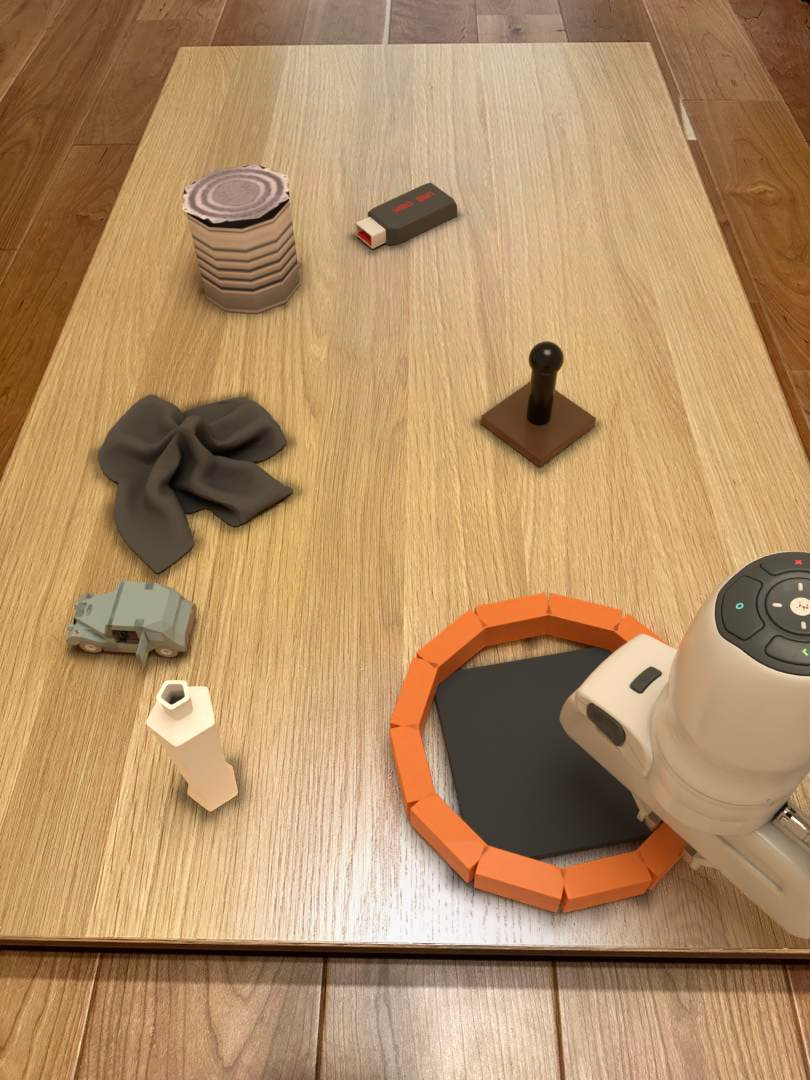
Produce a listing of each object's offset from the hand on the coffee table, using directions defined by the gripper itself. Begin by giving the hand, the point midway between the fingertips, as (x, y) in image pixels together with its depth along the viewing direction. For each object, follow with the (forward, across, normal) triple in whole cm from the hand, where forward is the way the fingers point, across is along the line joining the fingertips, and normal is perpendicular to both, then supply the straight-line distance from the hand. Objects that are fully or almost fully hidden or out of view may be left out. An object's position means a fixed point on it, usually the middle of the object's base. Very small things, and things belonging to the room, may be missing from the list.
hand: (672, 837), depth 69 cm
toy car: (+4, +42, +19) cm, 46 cm away
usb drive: (+4, +69, -37) cm, 79 cm away
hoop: (+3, +11, 0) cm, 11 cm away
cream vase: (+4, +26, +21) cm, 34 cm away
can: (+4, +73, -18) cm, 75 cm away
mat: (+3, +11, 0) cm, 12 cm away
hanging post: (+3, +36, -25) cm, 44 cm away
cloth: (+4, +54, +4) cm, 54 cm away
